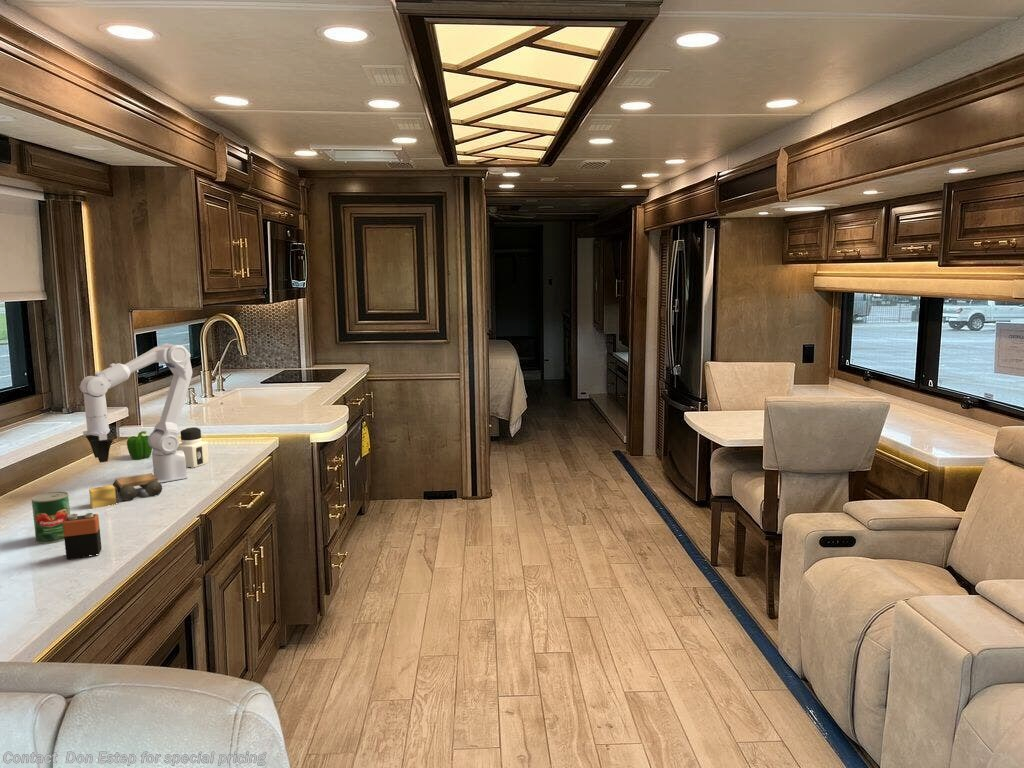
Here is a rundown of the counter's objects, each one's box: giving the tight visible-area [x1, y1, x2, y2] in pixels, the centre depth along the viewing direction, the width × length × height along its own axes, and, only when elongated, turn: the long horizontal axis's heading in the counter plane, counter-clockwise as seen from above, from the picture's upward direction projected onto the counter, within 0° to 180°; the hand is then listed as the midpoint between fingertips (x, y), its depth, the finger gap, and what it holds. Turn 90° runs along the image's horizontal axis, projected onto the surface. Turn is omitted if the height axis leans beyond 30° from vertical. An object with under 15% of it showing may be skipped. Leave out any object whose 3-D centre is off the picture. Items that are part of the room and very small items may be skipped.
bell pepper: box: [126, 430, 153, 460], centre depth 266 cm, size 8×8×10 cm
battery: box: [63, 512, 102, 560], centre depth 173 cm, size 4×7×10 cm, turn 111°
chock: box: [88, 484, 119, 509], centre depth 212 cm, size 7×4×5 cm, turn 128°
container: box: [176, 427, 210, 469], centre depth 255 cm, size 8×8×13 cm
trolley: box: [112, 472, 163, 502], centre depth 222 cm, size 11×11×5 cm
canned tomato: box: [30, 491, 71, 544], centre depth 184 cm, size 8×8×11 cm
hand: (101, 459), depth 223 cm, fingers open, 7 cm apart
